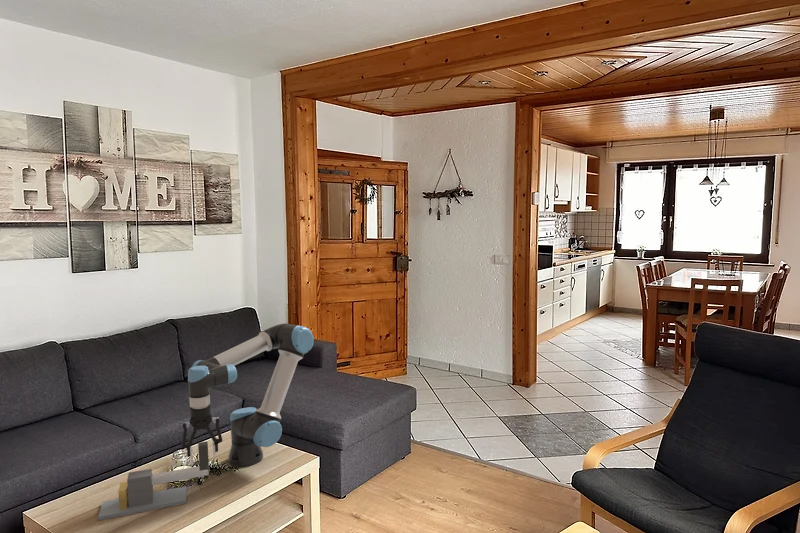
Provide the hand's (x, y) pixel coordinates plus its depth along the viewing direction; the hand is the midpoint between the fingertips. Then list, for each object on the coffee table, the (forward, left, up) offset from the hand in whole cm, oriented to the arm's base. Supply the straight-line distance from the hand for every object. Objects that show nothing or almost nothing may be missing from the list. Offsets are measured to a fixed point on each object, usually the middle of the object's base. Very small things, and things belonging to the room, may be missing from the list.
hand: (203, 461), depth 217 cm
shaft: (+11, 0, -5) cm, 12 cm away
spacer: (+29, 0, -11) cm, 31 cm away
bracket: (+22, 0, -13) cm, 25 cm away
